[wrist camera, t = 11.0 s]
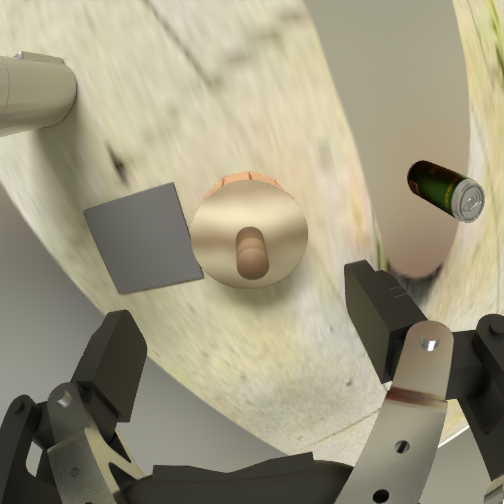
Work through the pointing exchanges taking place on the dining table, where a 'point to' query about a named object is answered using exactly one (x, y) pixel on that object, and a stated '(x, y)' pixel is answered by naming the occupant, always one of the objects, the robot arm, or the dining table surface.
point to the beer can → (447, 190)
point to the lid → (249, 234)
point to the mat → (144, 239)
